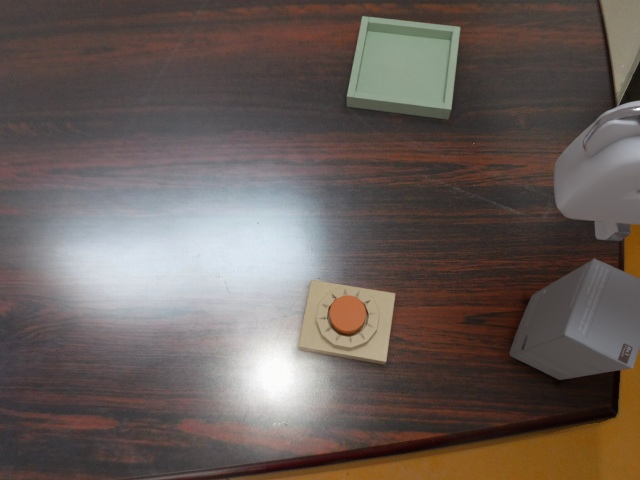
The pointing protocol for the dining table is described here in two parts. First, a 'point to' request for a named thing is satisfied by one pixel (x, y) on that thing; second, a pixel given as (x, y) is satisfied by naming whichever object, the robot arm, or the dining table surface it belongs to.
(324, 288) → the orange push button box
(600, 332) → the cosmetic box
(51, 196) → the dining table surface
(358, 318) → the button
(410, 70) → the shallow square tray
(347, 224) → the dining table surface
